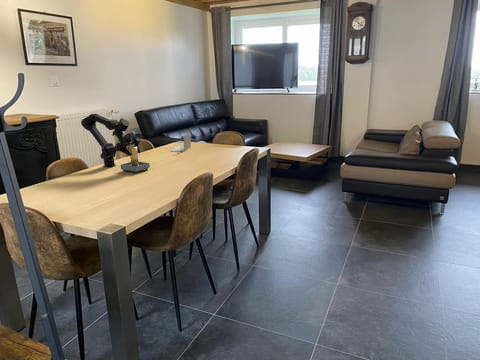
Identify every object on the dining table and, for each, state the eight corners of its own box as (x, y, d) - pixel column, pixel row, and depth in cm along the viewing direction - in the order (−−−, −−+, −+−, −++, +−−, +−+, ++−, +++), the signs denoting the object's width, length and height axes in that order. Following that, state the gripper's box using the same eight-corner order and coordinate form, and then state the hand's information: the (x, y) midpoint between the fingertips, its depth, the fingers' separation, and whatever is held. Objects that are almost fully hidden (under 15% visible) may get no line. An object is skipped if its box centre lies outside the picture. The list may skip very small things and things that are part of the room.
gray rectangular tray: (121, 171, 237) (120, 164, 235) (134, 167, 247) (134, 160, 245) (136, 173, 230) (135, 167, 229) (150, 169, 240) (149, 163, 238)
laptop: (177, 147, 312) (176, 132, 308) (191, 147, 310) (190, 132, 306) (170, 151, 295) (168, 135, 291) (184, 151, 293) (183, 135, 289)
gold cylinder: (130, 167, 235) (128, 148, 232) (132, 165, 240) (130, 146, 236) (137, 166, 235) (135, 148, 231) (139, 165, 240) (137, 146, 236)
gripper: (115, 130, 225) (129, 149, 222) (137, 126, 240) (151, 143, 238) (108, 141, 231) (122, 160, 228) (130, 136, 246) (143, 154, 244)
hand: (135, 154), depth 234 cm, fingers open, 8 cm apart
